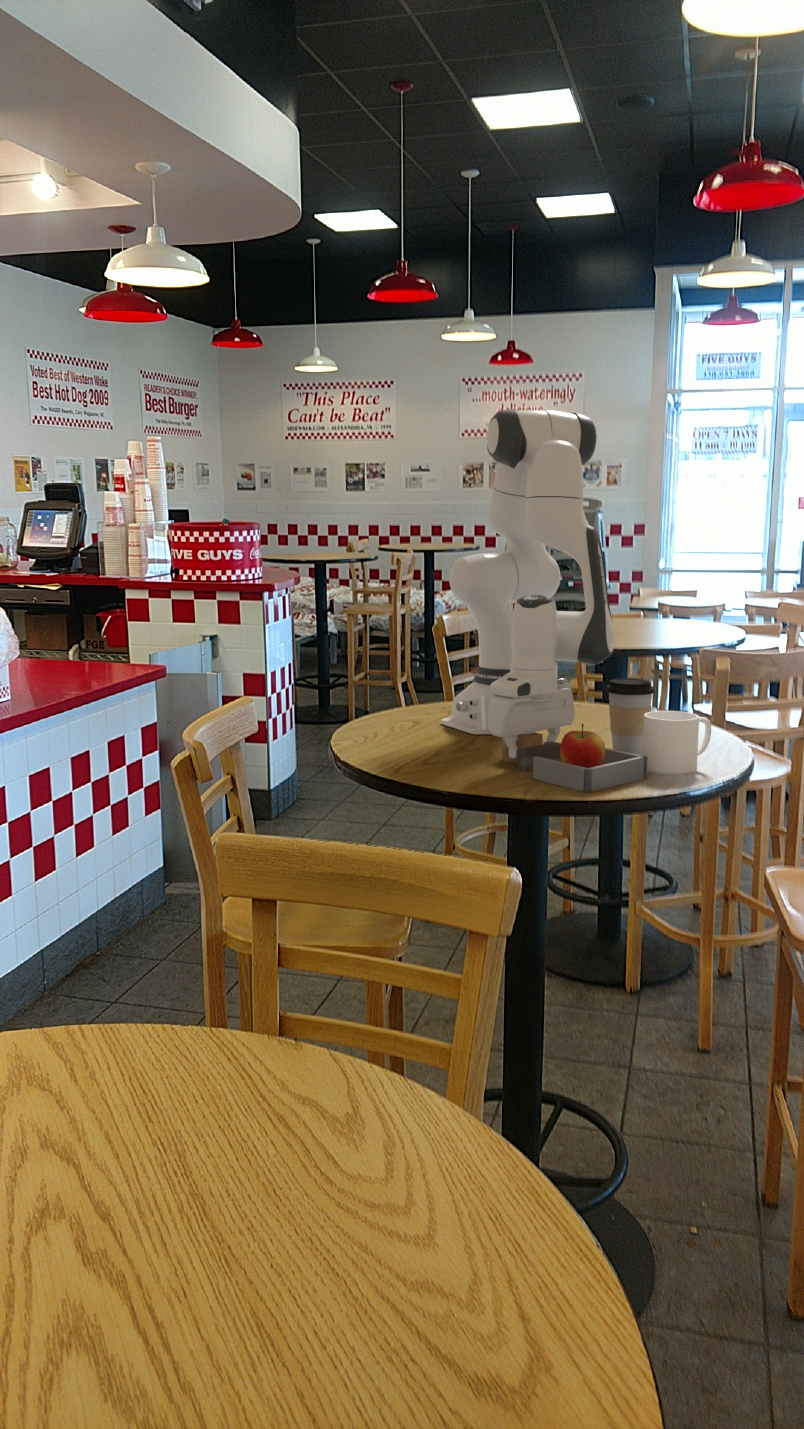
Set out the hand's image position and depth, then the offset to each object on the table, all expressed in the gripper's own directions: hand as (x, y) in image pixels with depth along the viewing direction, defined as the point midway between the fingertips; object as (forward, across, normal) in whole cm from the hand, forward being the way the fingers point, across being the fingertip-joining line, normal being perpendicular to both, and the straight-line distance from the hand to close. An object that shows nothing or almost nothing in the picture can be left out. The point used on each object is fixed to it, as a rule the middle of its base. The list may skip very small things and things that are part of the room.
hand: (532, 753), depth 204 cm
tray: (+2, 0, +14) cm, 15 cm away
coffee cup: (+2, -20, +7) cm, 21 cm away
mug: (+2, -18, +20) cm, 27 cm away
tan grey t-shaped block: (+2, 0, -3) cm, 4 cm away
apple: (+2, 0, +13) cm, 13 cm away
